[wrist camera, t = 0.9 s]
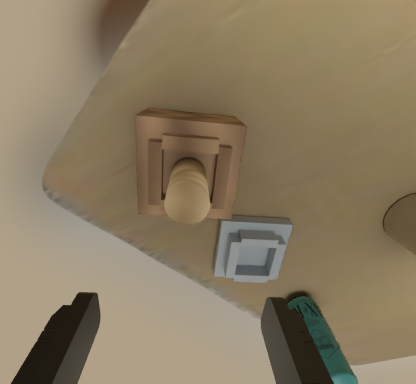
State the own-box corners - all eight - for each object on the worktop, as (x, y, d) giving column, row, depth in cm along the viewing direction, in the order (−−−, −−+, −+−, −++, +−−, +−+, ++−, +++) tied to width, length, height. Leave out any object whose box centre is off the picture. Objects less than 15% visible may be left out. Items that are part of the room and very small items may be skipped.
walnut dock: (235, 116, 33) (250, 128, 24) (223, 193, 38) (233, 225, 29) (148, 108, 32) (132, 117, 23) (148, 188, 37) (135, 220, 28)
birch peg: (207, 158, 27) (212, 185, 20) (204, 189, 29) (207, 225, 21) (172, 155, 26) (164, 182, 19) (171, 187, 28) (163, 223, 21)
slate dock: (288, 218, 41) (299, 233, 37) (273, 270, 46) (281, 289, 42) (220, 214, 39) (224, 229, 35) (213, 268, 44) (215, 287, 40)
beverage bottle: (317, 302, 50) (387, 425, 32) (289, 315, 52) (342, 440, 33) (305, 284, 48) (373, 407, 30) (276, 298, 49) (325, 424, 31)
